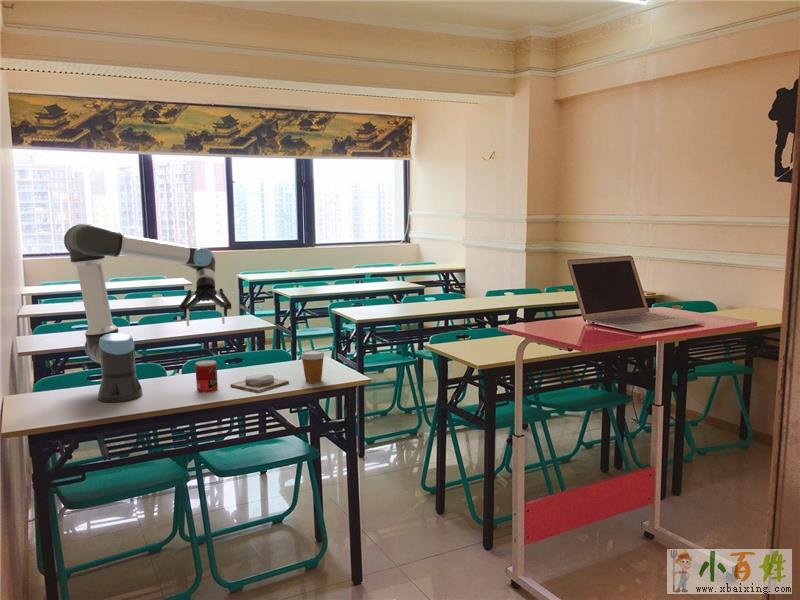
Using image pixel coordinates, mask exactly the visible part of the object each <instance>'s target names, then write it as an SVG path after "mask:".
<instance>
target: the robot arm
mask: <svg viewBox="0 0 800 600" xmlns="http://www.w3.org/2000/svg"><path fill="white" fill-rule="evenodd" d="M63 244H64V247H65V249H66V250H67V251H68V254H69V257H70V263H71V264H72V265H74V266H75V267H76V271H77V274H78V275H77V276H78V281H79V285H80V290H81V292H80V293H81V295H82V296H81V297H82V301H83V306H84V307H83V308H84V311H85V316H86V322H87V327H88V328H87V329H86V330H85V332H84V335H85V340H86V341H85V342H84V351H85V353H86V354H85V355H86V356H87V357H88V358H89V359H90V360H91V361H92V362H95V363H97V364H99V365H100V369H101V371H100V372H101V381H100V384H99V389H98V393H97V396H98V397H97V398H98V401H99V402H103V403H119V402H127V401H131V400H134V399H138V398H140V397H141V396H143V387H142V386H141V383H140V381H139V378H138V377H137V374H136V373H137V371H136V369H137V368H136V360H135V359H136V355H135V343H134V338H133V337H132V335H130V334H128V333H121V332H119V327H118V326H117V325H115V324H114V323H113V319H112V318H113V317H112V313H111V308H110V301H109V296H108V291H107V285H106V282H105V281H106V279H105V275H104V269H103V265H102V263H103V261H104V260H105V259H106V257H114V258H115V257H116V258H117V257H120V256H127V257H134V258H141V259H148V260H154V261H162V262H169V263H177V264H181V265H183V266H186V267H189V268H191V269H193V270H195V271H196V275H195V276H196V281H195V282H196V284H195V286H196V287H195V288H196V289H195V291H193V290H191V289H189V290H187V294H186V295H185V297H184V299H183V301H182V302H181V303H180V305H179V311H180V312H183V318H184V319H186V326H187V327H189V326H190V310H191V309H193V307H194V306H196V305H197V304H198V303H200V302H201V301H202V302H210V301H212V302H213V303H215V304H216V305H218V306H219V307H220V308H221V323H222V325H225V323H226V322H225V317H227V316H228V310H232V303H231V302H230V300H229V299H228V298H227V296H226V295H225V293H224V289H223V288H219V289H218V290H216V258H215V254H214V252H213V251H211V250H209V249H208V248H207V247H202V246H194V245H188V244H182V243H180V242H170V241H164V240H159V239H151V238H147V237H141V236H134V235H129V234H124V233H123V232H122V231H121V230H115V229H111V228H107V227H103V226H101V225H96V224H93V223H92V224H86V223H83V224H81V223H79V224H76V225H74V226H71V227H70V228H69V229H67V230H66V232H65V233H64V236H63ZM217 295H218V296H219V297H220V298H219V297H218V296H217ZM193 297H194V298H193ZM192 298H193V299H192ZM220 299H222V300H220Z"/></svg>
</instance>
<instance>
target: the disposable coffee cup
mask: <svg viewBox="0 0 800 600" xmlns="http://www.w3.org/2000/svg"><path fill="white" fill-rule="evenodd" d="M300 357H301V360H302V366H303V367H302V368H303V372H304V378H305V382H306V383H309V384H317V383H321V382H322V377H323V367H324V358H325V352H324V351H323V350H321V349H320V350H319V349H308V350H304V351H301V355H300ZM320 381H321V382H320Z"/></svg>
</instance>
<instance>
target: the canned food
mask: <svg viewBox="0 0 800 600" xmlns="http://www.w3.org/2000/svg"><path fill="white" fill-rule="evenodd" d="M194 366H195V383H196V390H197V392H198V391H199V392H198V393H203V392H206V393H212V391H213V392H216V391H218V388H219V387H218V386H219V385H218V383H219V382H218V367H217V361H216V360H207V359H206V360H199V361H196V362H195V365H194Z"/></svg>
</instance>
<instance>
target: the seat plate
mask: <svg viewBox="0 0 800 600" xmlns="http://www.w3.org/2000/svg"><path fill="white" fill-rule="evenodd" d="M287 383H290V381H289V380H286V379H282V378H280V379H279V378H276V377H275V378H274V375H272V374H269V373H268V374H266V373H265V374H264V373H263V374H262V373H261V374H259V373H258V374H252V375H249V376H247V377H245V380H241V381H237V382H235V383H231V384H230V387H231V388H235V389H239V390H243V389H245V390H244V391H248V390H250V391H249V392H252V391H255V392H254V393H257V392H259V393H261V392H260V391H262V392H264V391H263V390H266V391H268V390H267V389H269V390H271V389H270V388H272V389H275V388H274V387H276V388H278V387H277V386H279V387H281V386H280V385H282V386H284V385H283V384H285V385H288V384H287Z"/></svg>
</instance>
